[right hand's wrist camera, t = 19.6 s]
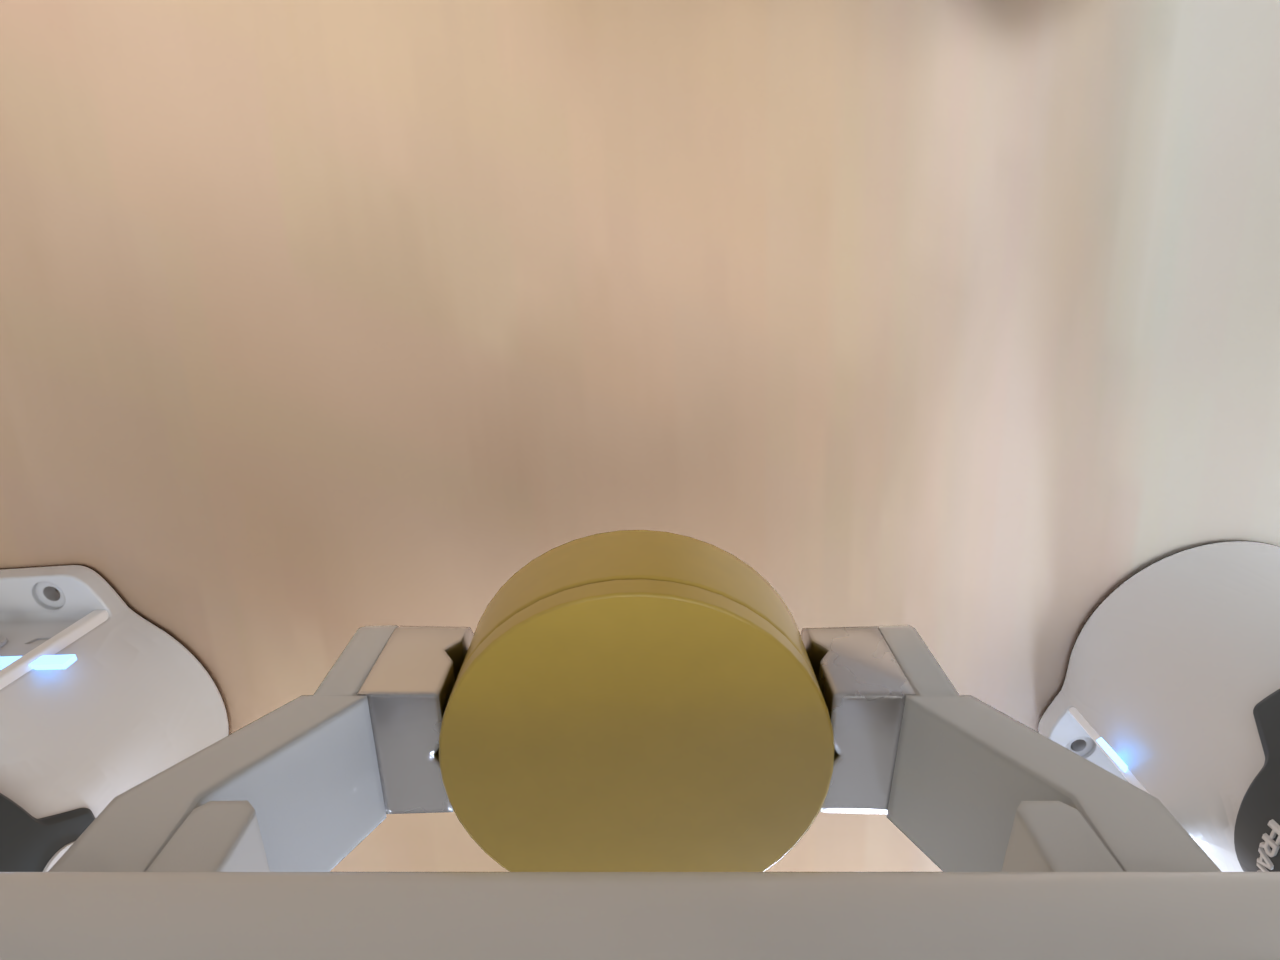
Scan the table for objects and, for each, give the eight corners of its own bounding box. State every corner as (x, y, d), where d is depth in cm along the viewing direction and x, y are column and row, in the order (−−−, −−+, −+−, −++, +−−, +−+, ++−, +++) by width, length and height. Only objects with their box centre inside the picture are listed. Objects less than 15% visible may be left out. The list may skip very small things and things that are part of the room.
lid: (405, 698, 10) (361, 788, 9) (610, 457, 9) (604, 510, 7) (657, 855, 11) (660, 962, 10) (875, 660, 10) (919, 746, 8)
